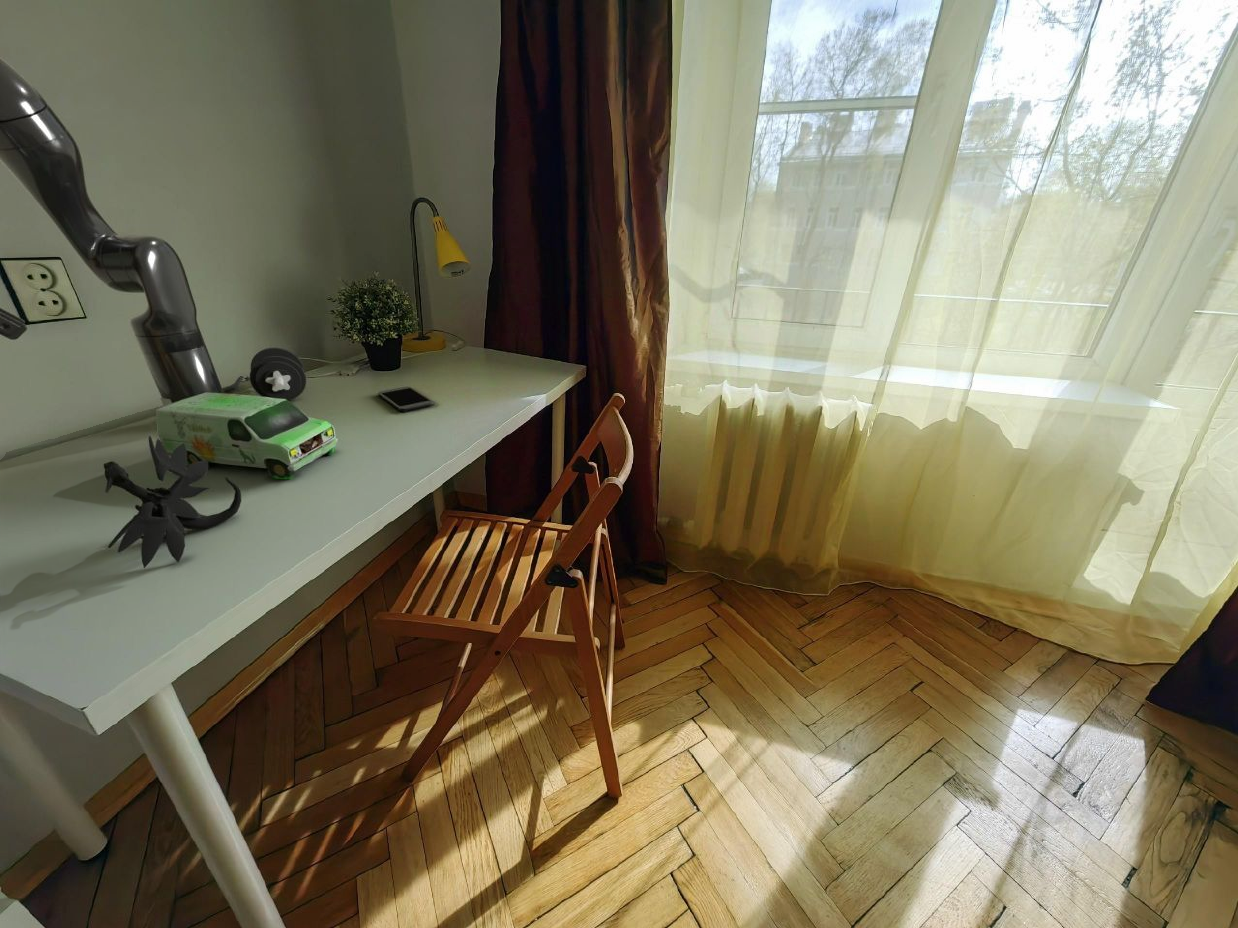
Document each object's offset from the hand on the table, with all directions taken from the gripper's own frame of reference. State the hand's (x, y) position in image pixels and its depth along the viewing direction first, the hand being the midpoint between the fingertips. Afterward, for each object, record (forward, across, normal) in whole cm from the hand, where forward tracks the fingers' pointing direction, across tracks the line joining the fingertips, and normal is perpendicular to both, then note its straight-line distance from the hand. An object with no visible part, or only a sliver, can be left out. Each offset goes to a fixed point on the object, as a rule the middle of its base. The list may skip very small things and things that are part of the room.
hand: (21, 331), depth 61 cm
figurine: (+22, -23, +12) cm, 34 cm away
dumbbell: (+38, +30, -12) cm, 49 cm away
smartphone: (+49, +7, -24) cm, 55 cm away
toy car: (+30, -2, +1) cm, 30 cm away
